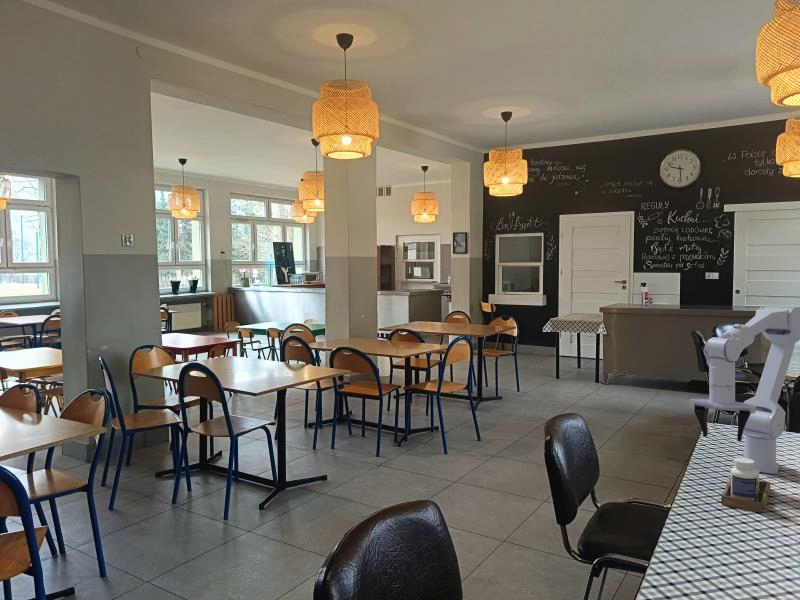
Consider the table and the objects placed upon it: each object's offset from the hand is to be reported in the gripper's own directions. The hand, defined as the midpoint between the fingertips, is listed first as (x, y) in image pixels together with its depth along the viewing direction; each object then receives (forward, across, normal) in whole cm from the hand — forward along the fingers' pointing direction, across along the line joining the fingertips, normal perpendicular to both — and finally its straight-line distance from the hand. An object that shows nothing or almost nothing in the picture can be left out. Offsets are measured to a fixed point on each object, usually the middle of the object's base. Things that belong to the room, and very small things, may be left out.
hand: (722, 438), depth 148 cm
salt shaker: (+10, +6, -7) cm, 14 cm away
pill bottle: (+11, +6, -15) cm, 19 cm away
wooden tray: (+10, +6, -11) cm, 16 cm away
